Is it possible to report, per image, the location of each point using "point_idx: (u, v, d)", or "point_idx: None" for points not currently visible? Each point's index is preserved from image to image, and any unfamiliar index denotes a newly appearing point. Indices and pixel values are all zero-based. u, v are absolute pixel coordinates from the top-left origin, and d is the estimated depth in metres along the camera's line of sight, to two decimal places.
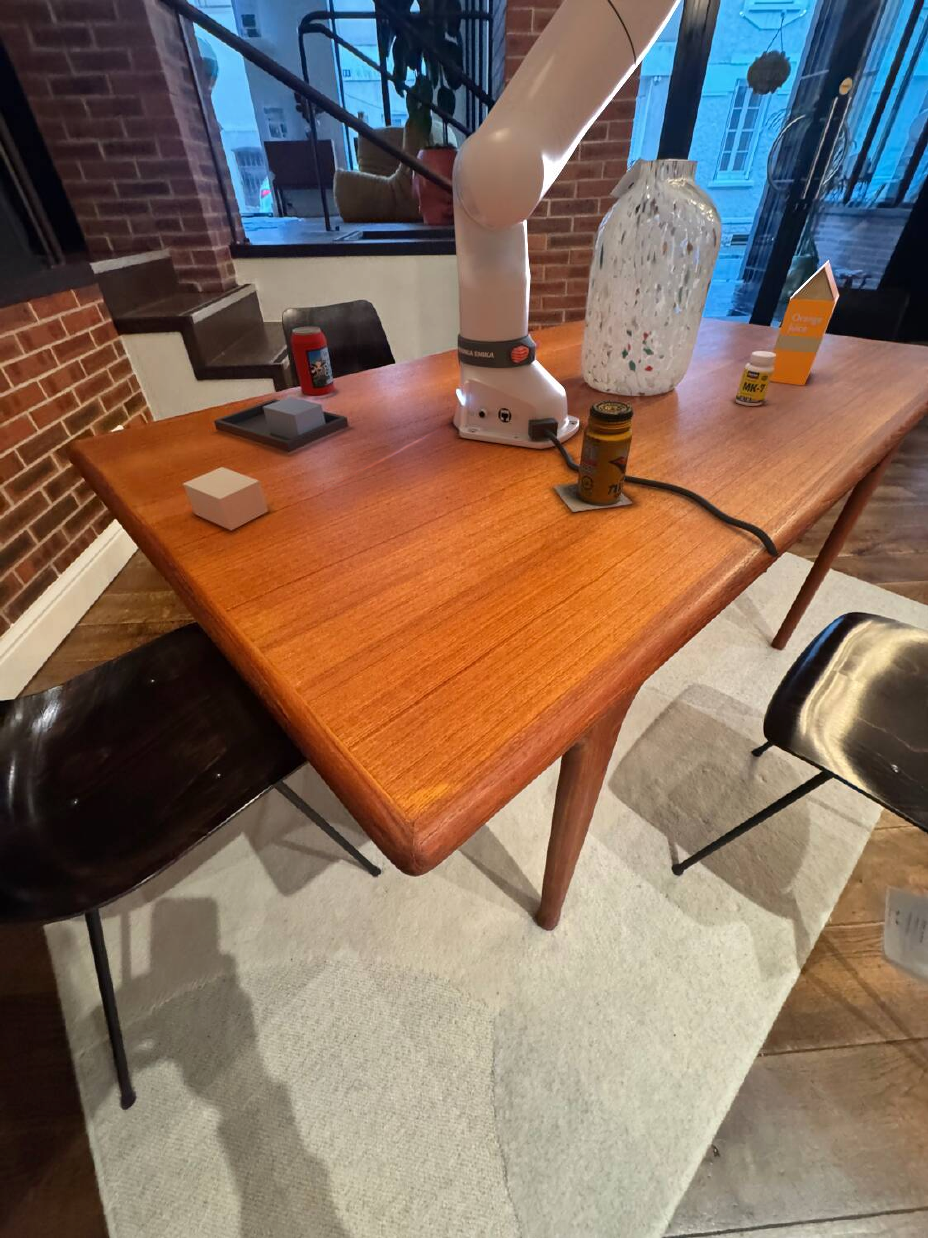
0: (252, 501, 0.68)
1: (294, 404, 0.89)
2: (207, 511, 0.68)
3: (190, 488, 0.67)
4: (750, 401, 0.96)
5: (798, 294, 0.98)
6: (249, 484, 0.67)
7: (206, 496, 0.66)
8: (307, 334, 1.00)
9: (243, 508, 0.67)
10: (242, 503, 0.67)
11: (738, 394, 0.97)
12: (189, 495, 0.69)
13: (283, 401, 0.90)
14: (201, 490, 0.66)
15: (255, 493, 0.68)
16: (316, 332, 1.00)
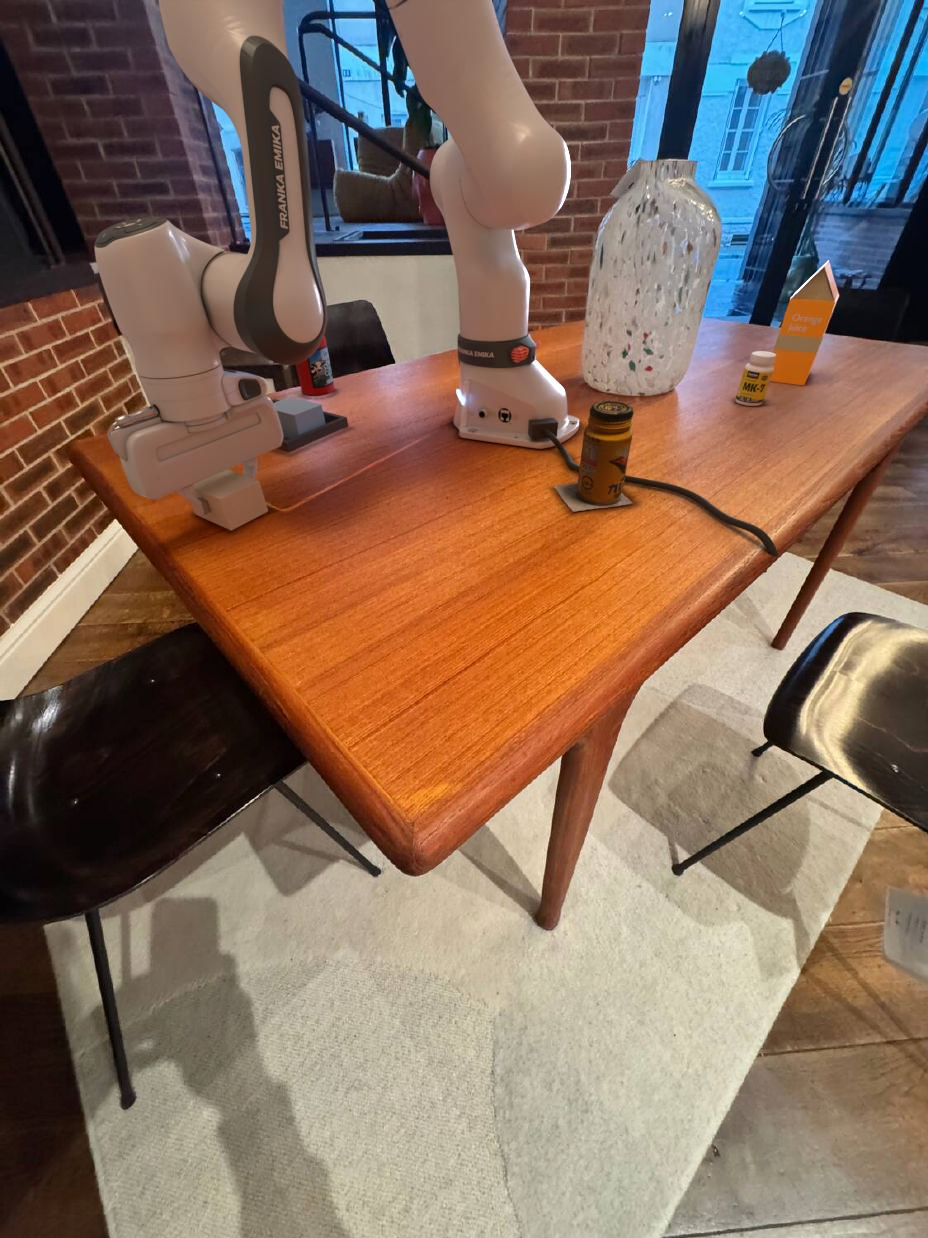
0: (252, 501, 0.68)
1: (294, 404, 0.89)
2: None
3: None
4: (750, 401, 0.96)
5: (798, 294, 0.98)
6: (249, 484, 0.67)
7: (206, 496, 0.66)
8: None
9: (243, 509, 0.67)
10: (242, 503, 0.67)
11: (738, 394, 0.97)
12: None
13: (283, 401, 0.90)
14: (201, 490, 0.66)
15: (255, 493, 0.68)
16: None
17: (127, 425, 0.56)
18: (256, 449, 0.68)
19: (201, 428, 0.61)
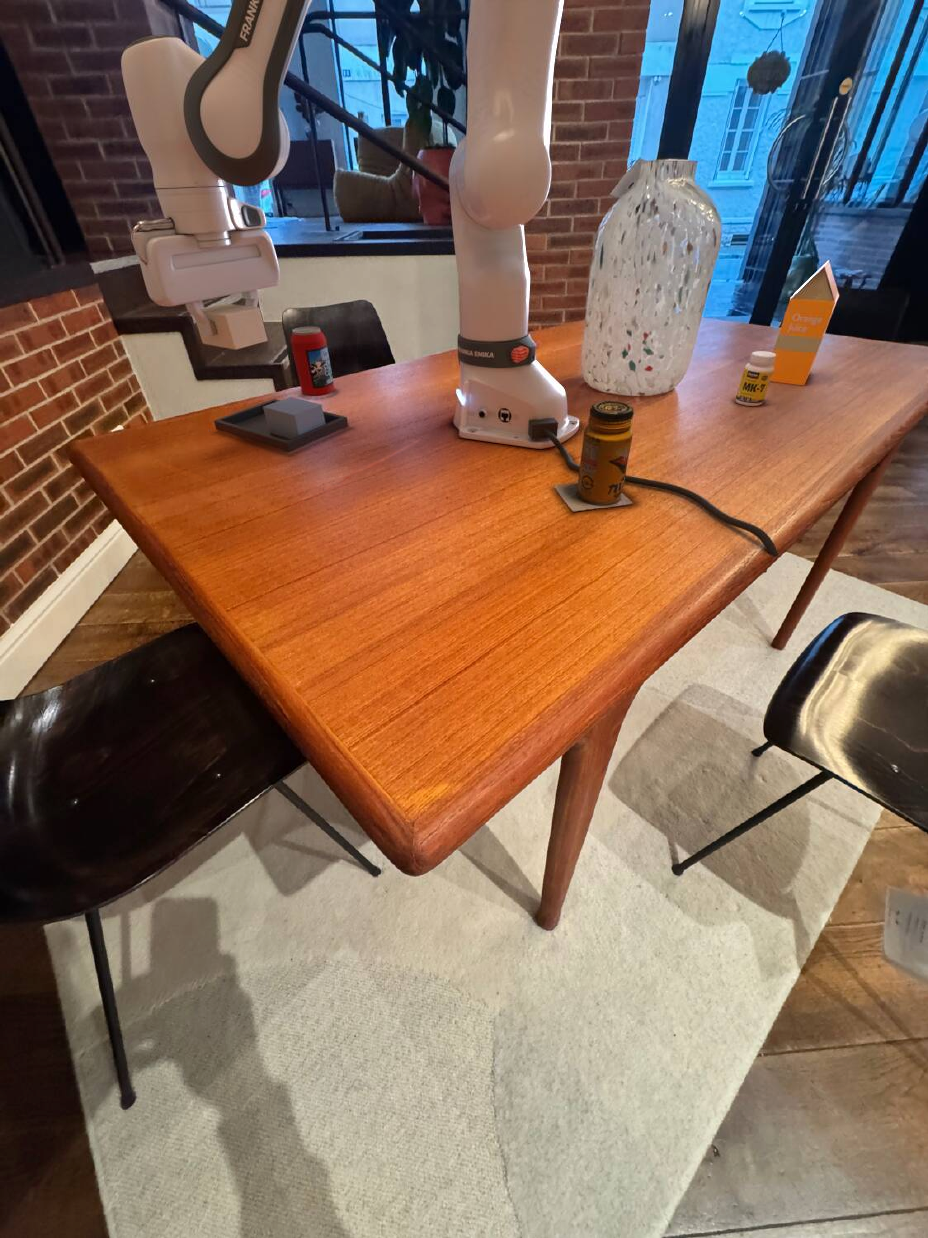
0: (253, 325, 0.78)
1: (294, 404, 0.89)
2: (214, 335, 0.78)
3: None
4: (750, 401, 0.96)
5: (798, 294, 0.98)
6: (250, 309, 0.77)
7: (213, 317, 0.76)
8: (307, 334, 1.00)
9: (245, 331, 0.77)
10: (244, 325, 0.77)
11: (738, 394, 0.97)
12: (198, 322, 0.78)
13: (283, 401, 0.90)
14: (209, 312, 0.76)
15: (256, 319, 0.78)
16: (316, 332, 1.00)
17: (147, 230, 0.66)
18: (257, 281, 0.78)
19: (210, 244, 0.70)
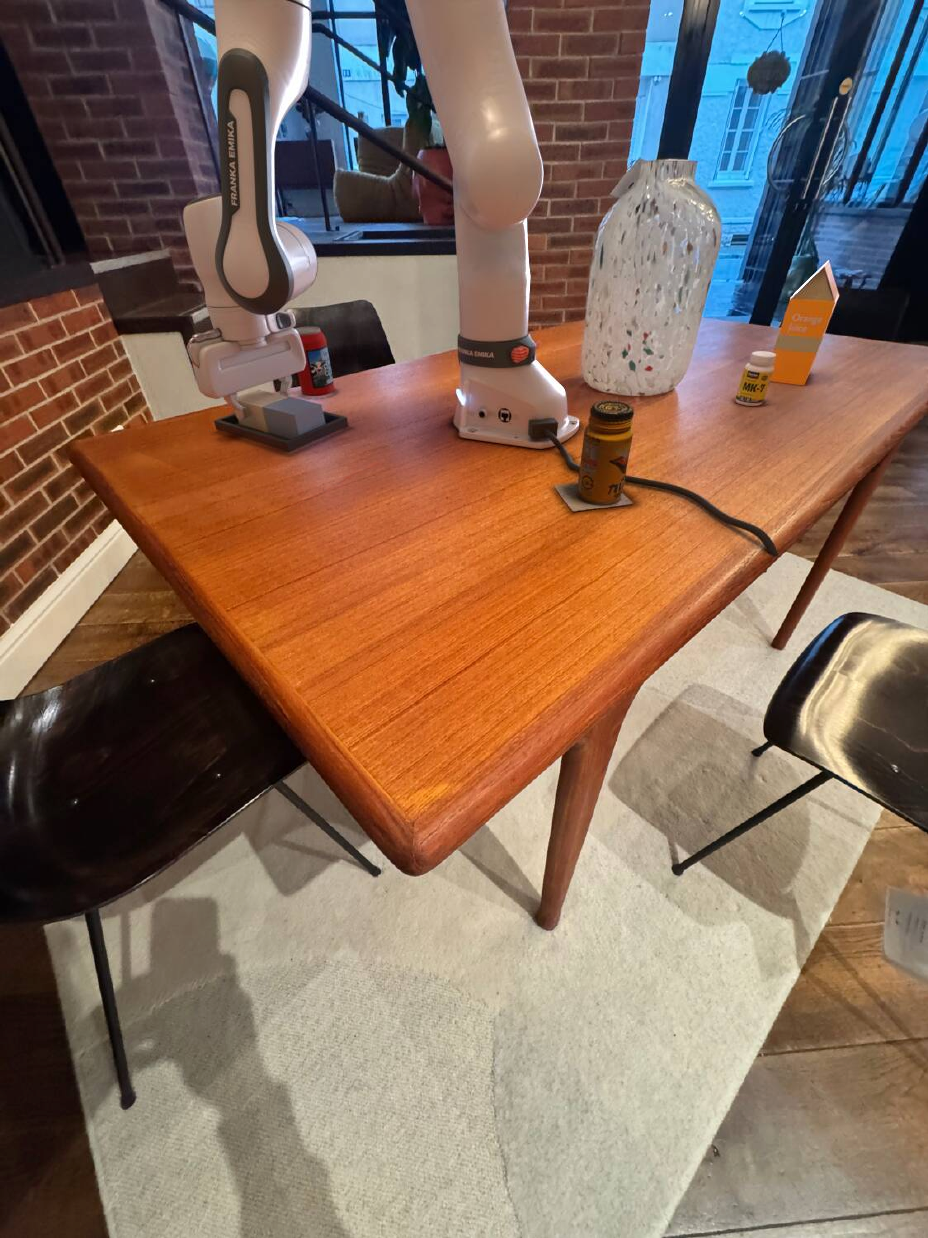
0: None
1: (294, 404, 0.89)
2: (249, 419, 0.92)
3: (237, 401, 0.91)
4: (750, 401, 0.96)
5: (798, 294, 0.98)
6: (280, 398, 0.91)
7: (250, 406, 0.90)
8: (307, 334, 1.00)
9: None
10: None
11: (738, 394, 0.97)
12: None
13: (283, 401, 0.90)
14: (246, 402, 0.90)
15: None
16: (316, 332, 1.00)
17: (200, 341, 0.80)
18: (286, 369, 0.92)
19: (250, 347, 0.84)
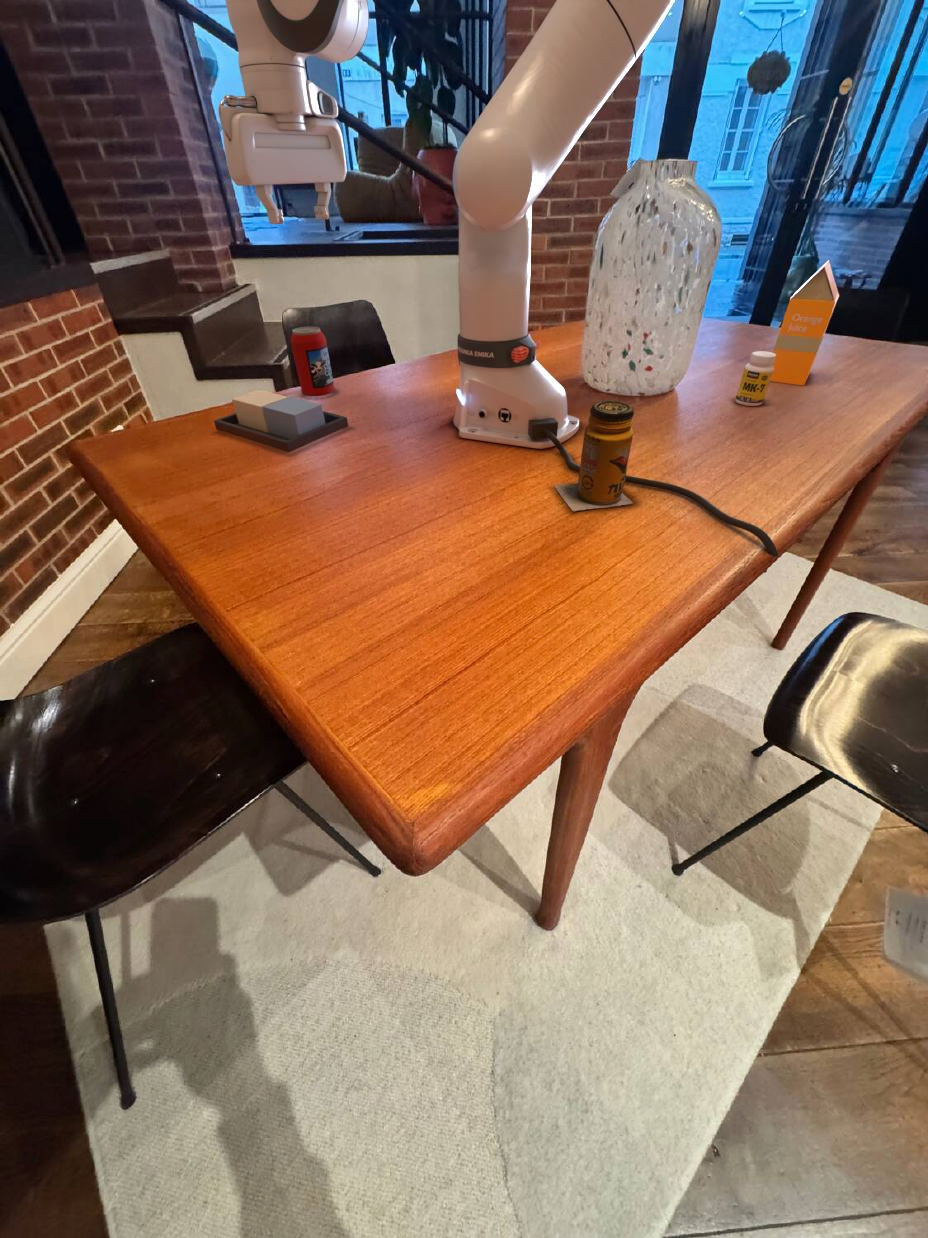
0: None
1: (294, 404, 0.89)
2: (249, 419, 0.92)
3: (237, 401, 0.91)
4: (750, 401, 0.96)
5: (798, 294, 0.98)
6: (280, 398, 0.91)
7: (250, 406, 0.90)
8: (307, 334, 1.00)
9: None
10: None
11: (738, 394, 0.97)
12: (236, 408, 0.93)
13: (283, 401, 0.90)
14: (246, 402, 0.90)
15: None
16: (316, 332, 1.00)
17: (233, 104, 0.69)
18: (326, 173, 0.81)
19: (288, 126, 0.74)
